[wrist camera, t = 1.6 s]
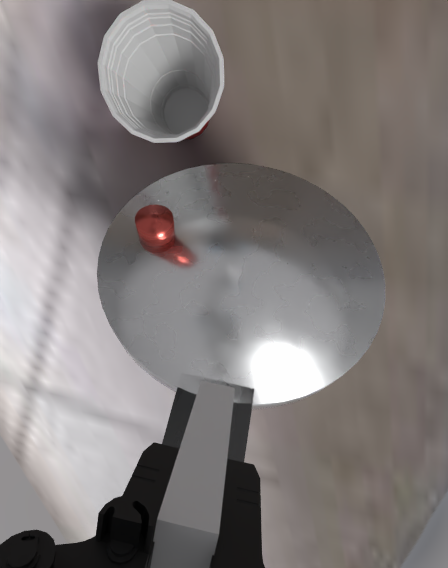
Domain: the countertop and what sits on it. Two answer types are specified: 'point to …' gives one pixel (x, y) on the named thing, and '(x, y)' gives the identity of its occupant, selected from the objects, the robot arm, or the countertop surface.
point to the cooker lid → (240, 288)
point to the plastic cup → (161, 71)
